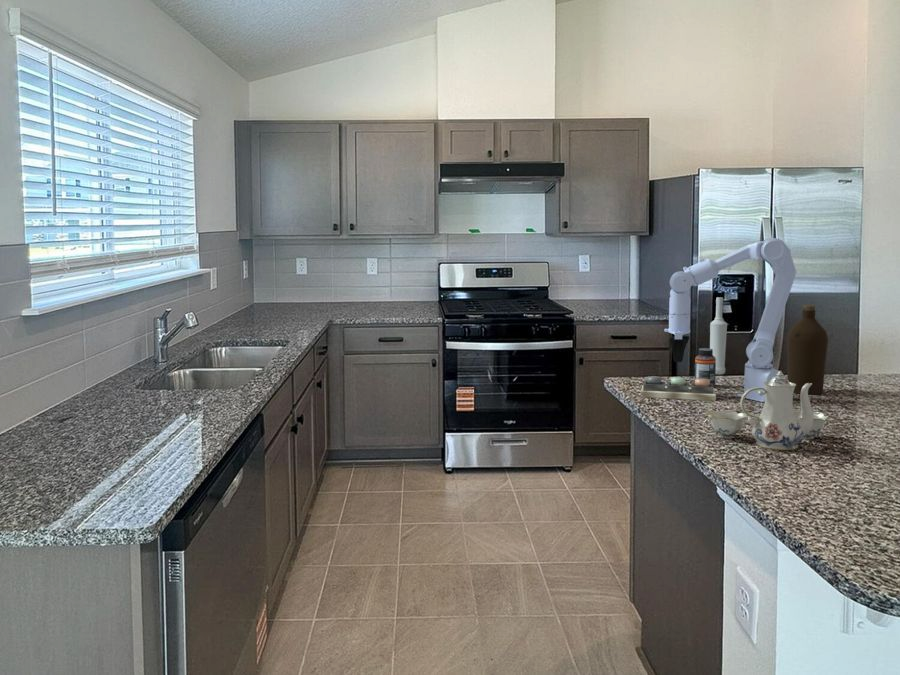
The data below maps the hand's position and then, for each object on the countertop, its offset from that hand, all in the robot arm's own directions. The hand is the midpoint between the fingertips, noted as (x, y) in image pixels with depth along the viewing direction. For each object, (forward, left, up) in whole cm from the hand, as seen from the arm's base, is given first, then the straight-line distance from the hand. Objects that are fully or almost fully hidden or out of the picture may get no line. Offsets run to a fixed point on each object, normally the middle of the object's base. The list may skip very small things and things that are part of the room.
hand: (678, 361), depth 220 cm
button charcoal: (+3, +6, -6) cm, 9 cm away
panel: (-2, +1, -9) cm, 10 cm away
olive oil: (-15, -35, -10) cm, 39 cm away
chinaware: (-49, +18, -10) cm, 53 cm away
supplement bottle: (+5, -16, -10) cm, 19 cm away
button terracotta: (-6, -3, -6) cm, 10 cm away
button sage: (-2, +1, -6) cm, 7 cm away
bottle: (+20, -36, -10) cm, 42 cm away
